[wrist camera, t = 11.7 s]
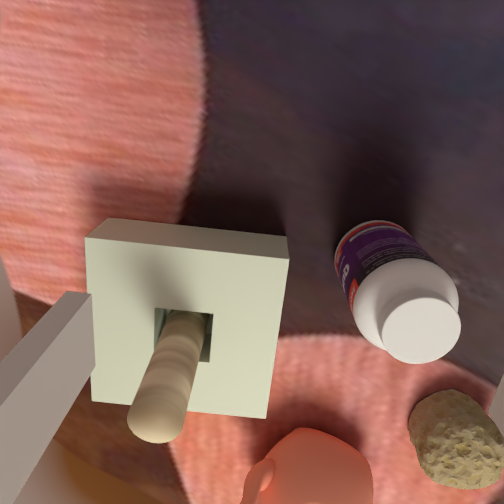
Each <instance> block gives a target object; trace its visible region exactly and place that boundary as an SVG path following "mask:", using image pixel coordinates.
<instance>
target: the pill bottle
mask: <svg viewBox="0 0 504 504" xmlns="http://www.w3.org/2000/svg"><path fill="white" fill-rule="evenodd" d="M335 269H336V272H337V275H338V278H339V280H340V283H341V285H342V288H343V290H344V293H345V296H346V298H347V301H348V303H349V306H350V309H351V311H352V314H353V317H354V319H355V322H356V324H357V327H358V328H359V330H360V332H361V333H362V334H363V336H364V337H365V338H366V339H367V340H368V341H370V342H371V343H372V344H374V345H376V346H377V347H379V348H381V349H384V350H387V351H388V352H389V353H390V354H391V355H392V356H393V357H394V358H396V359H398V360H400V361H403V362H406V363H411V364H421V363H427V362H431V361H434V360H436V359H438V358H440V357H442V356H443V355H445V354H446V353H447V352H449V351H450V350H451V349H452V348H453V346H454V345H455V343H456V342H457V340H458V338H459V335H460V330H461V323H460V318H459V315H458V313H457V312H458V304H459V300H458V293H457V290H456V287H455V285H454V283H453V281H452V280H451V278H450V277H449V276H448V274H447V273H446V272H445V271H444V270H443V269H442V268H441V267H440V266H439V265H438V264H437V263H436V262H435V261H434V260H433V259H432V258H431V257H430V255H429V254H428V253H427V252H426V251H425V250H424V249H423V248H422V247H421V246H420V245H419V244H418V243H417V242H416V241H415V240H414V238H413V237H412V236H411V235H410V234H409V233H408V232H407V231H406V230H405V229H403V228H402V227H401V226H399V225H397V224H395V223H392V222H389V221H383V220H373V221H368V222H364V223H362V224H359V225H357V226H356V227H354V228H353V229H351V230H350V231H349V232H347V233H346V234H345V235H344V237H343V238H342V239H341V241H340V242H339V244H338V246H337V249H336V253H335Z"/></svg>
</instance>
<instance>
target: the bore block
mask: <svg viewBox="0 0 504 504" xmlns="http://www.w3.org/2000/svg"><path fill="white" fill-rule="evenodd" d="M85 257H86V279H87V293H89V294H92V309H93V327H94V346H95V365H96V366H95V368H94V369H93V371H92V373H91V390H92V401H98V402H107V403H117V404H126V405H132V403H133V400H134V398H135V395H136V393H137V391H138V388H139V386H140V383H141V381H142V379H143V376H144V374H145V371H146V369H147V367H148V364H149V362H150V359H151V357H152V354H153V352H154V350H155V347H156V345H157V342H158V340H159V338H160V335H161V333H162V330H163V328H164V326H165V323H166V321H167V318H168V316H169V314H170V311H171V309H174V310H183V311H192V312H202V313H210V316H209V320H208V324H207V328H206V332H205V337H204V341H203V345H202V349H201V353H200V357H199V361H198V366H197V370H196V374H195V378H194V382H193V386H192V390H191V395H190V399H189V403H188V407H187V411H194V412H203V413H213V414H222V415H232V416H241V417H251V418H261V419H266V414H267V407H268V400H269V393H270V387H271V380H272V373H273V366H274V360H275V353H276V346H277V339H278V333H279V326H280V319H281V312H282V305H283V299H284V292H285V285H286V278H287V272H288V265H289V253H288V245H287V238H286V236H277V235H268V234H259V233H250V232H240V231H231V230H222V229H213V228H203V227H194V226H185V225H176V224H167V223H157V222H148V221H139V220H130V219H121V218H111V217H108V218H107V219H106V220H104V221H103V222H102V223H101V224H100V225H98V226H97V227H96V228H95V229H94V230H93V231H91V232H90V233H89V234H88V235H87V236H85Z"/></svg>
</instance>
